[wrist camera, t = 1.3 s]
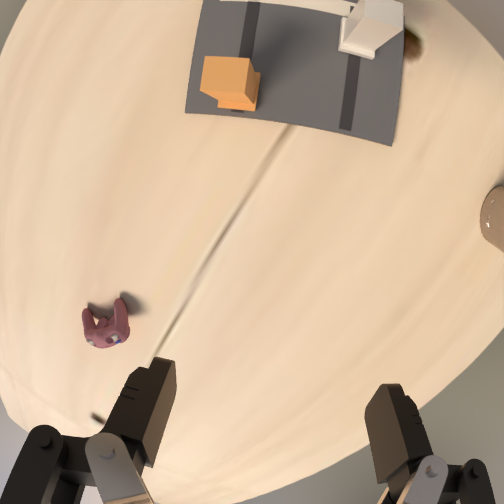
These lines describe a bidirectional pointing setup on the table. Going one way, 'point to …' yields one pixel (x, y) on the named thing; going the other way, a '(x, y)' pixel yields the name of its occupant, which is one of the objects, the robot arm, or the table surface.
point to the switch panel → (300, 66)
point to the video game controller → (107, 327)
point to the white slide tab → (370, 26)
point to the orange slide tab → (231, 82)
